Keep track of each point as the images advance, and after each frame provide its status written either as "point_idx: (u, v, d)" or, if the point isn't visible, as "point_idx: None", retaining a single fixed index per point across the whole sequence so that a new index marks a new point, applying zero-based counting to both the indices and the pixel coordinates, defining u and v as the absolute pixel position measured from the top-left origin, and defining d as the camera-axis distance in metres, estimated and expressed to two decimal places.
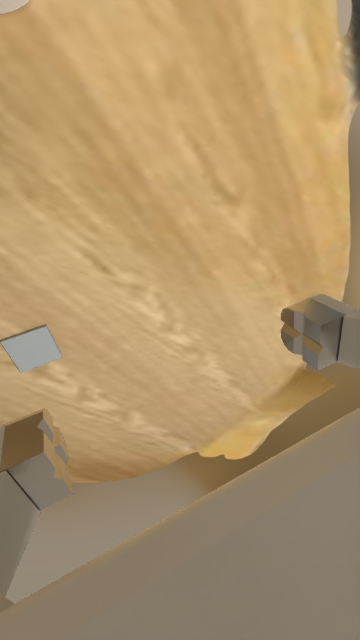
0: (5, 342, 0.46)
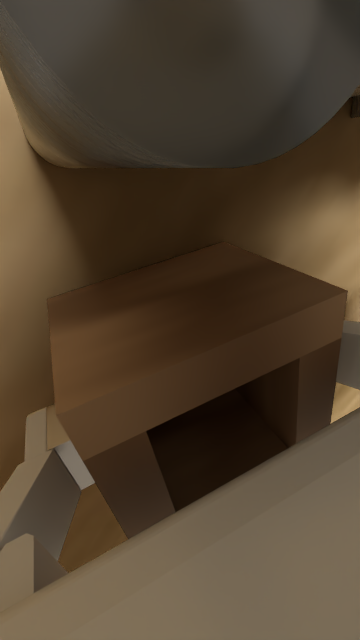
0: None
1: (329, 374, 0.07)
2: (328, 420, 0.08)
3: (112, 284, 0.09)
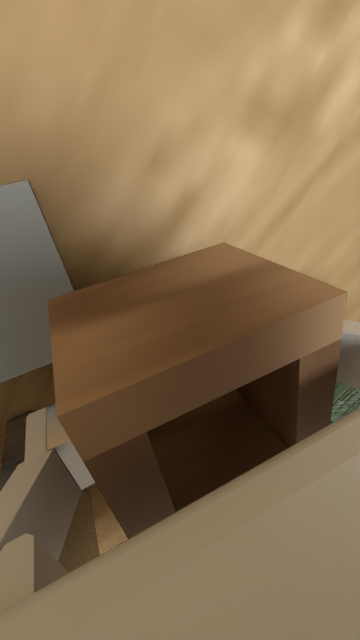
0: None
1: (329, 375, 0.07)
2: (328, 421, 0.08)
3: (112, 285, 0.09)
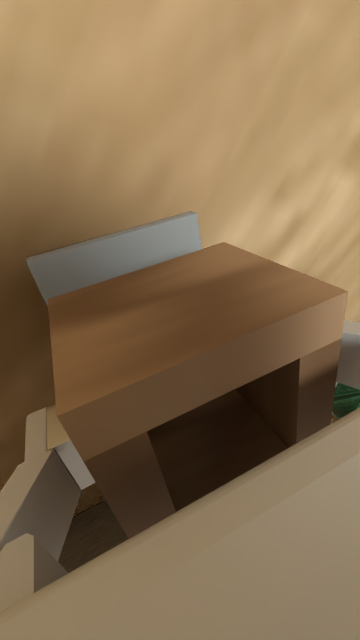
0: None
1: (329, 374, 0.07)
2: (328, 421, 0.08)
3: (112, 285, 0.09)
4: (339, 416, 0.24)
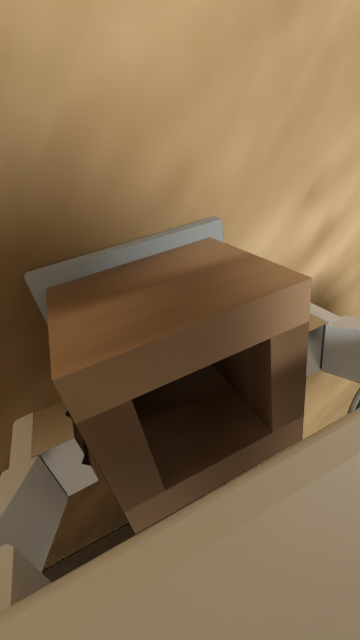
0: None
1: (300, 355, 0.08)
2: (302, 399, 0.09)
3: (105, 275, 0.09)
4: None
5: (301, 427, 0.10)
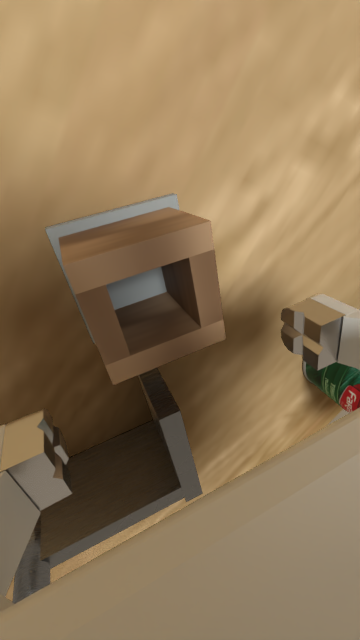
0: None
1: (212, 272, 0.13)
2: (220, 306, 0.14)
3: (96, 229, 0.15)
4: (312, 380, 0.27)
5: (223, 328, 0.15)
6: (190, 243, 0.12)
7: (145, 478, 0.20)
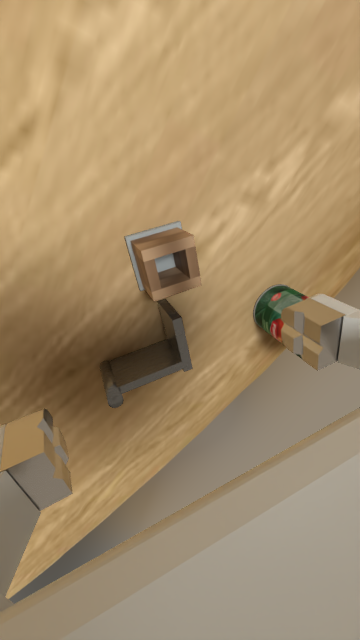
0: (142, 285, 0.38)
1: (194, 255, 0.33)
2: (198, 270, 0.34)
3: (146, 237, 0.35)
4: (258, 323, 0.47)
5: (200, 280, 0.35)
6: (185, 243, 0.32)
7: (164, 360, 0.39)
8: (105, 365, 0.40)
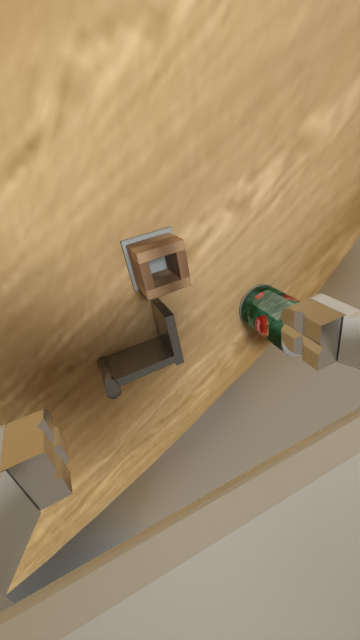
0: (136, 286, 0.41)
1: (184, 257, 0.36)
2: (188, 271, 0.37)
3: (140, 241, 0.38)
4: (244, 320, 0.51)
5: (190, 280, 0.38)
6: (176, 247, 0.35)
7: (157, 354, 0.43)
8: (102, 361, 0.43)
